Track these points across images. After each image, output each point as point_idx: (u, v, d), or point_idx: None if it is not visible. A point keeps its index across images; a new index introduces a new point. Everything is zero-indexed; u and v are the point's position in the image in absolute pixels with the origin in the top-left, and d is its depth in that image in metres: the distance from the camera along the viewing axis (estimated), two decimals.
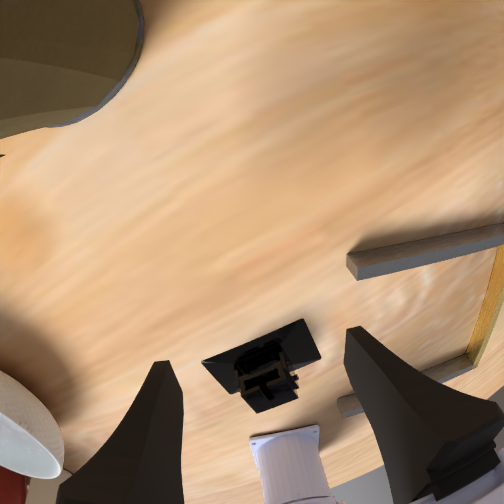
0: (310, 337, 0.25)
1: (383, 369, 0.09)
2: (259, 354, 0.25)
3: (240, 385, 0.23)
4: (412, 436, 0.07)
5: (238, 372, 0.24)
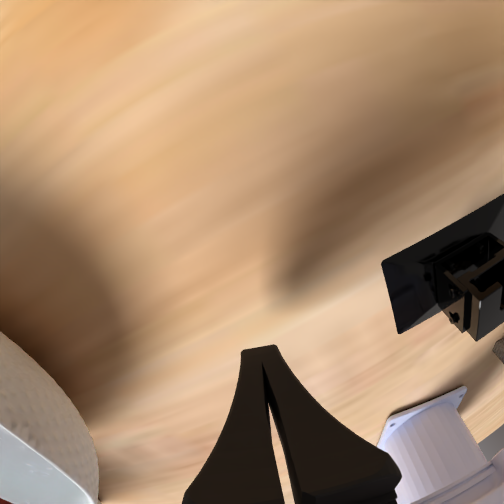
0: None
1: (277, 395, 0.09)
2: (467, 246, 0.14)
3: (468, 287, 0.12)
4: (293, 472, 0.07)
5: None
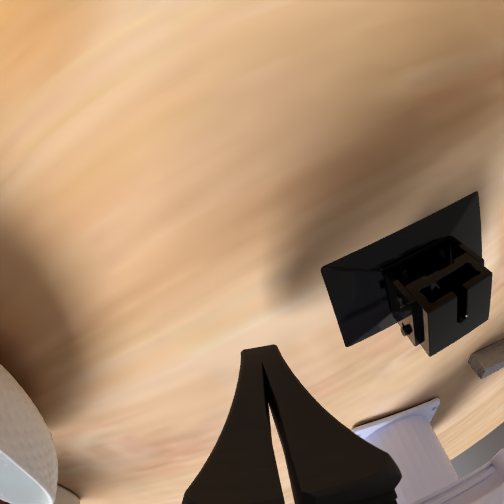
0: (478, 230, 0.14)
1: (277, 395, 0.09)
2: (423, 251, 0.14)
3: (416, 297, 0.12)
4: (292, 472, 0.07)
5: None
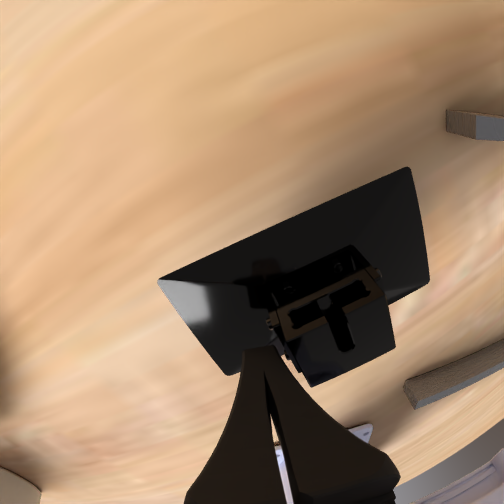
0: (399, 237, 0.14)
1: (275, 396, 0.09)
2: (313, 264, 0.13)
3: (281, 320, 0.11)
4: (291, 473, 0.07)
5: (272, 300, 0.12)
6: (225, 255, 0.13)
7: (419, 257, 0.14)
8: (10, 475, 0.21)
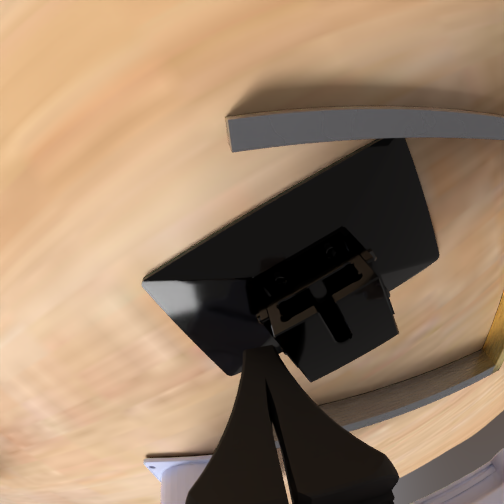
0: (395, 213, 0.13)
1: (274, 396, 0.09)
2: (303, 250, 0.12)
3: (270, 314, 0.10)
4: (289, 473, 0.07)
5: (263, 292, 0.12)
6: (210, 250, 0.12)
7: (420, 233, 0.13)
8: None
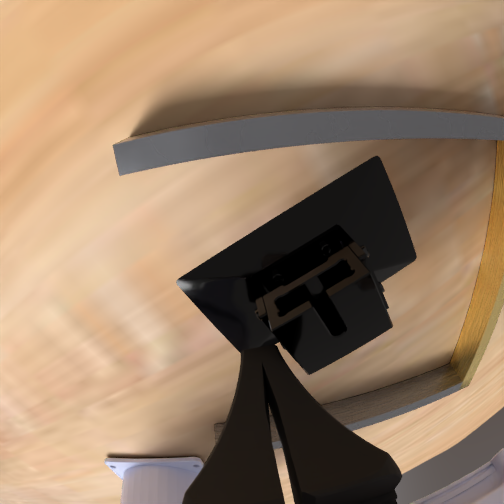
0: (389, 211, 0.13)
1: (277, 395, 0.09)
2: (300, 248, 0.13)
3: (267, 309, 0.11)
4: (292, 472, 0.07)
5: (261, 289, 0.12)
6: None
7: None
8: None
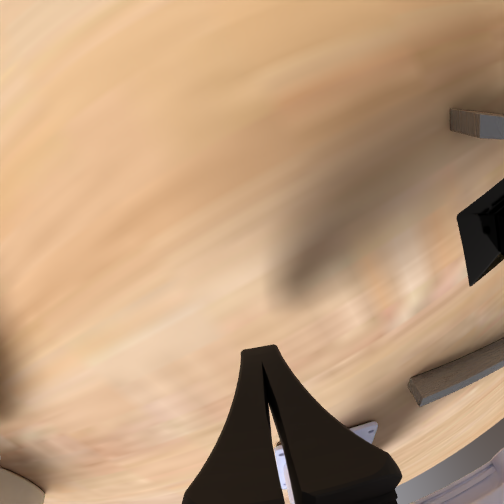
0: None
1: (277, 395, 0.09)
2: None
3: None
4: (293, 472, 0.07)
5: None
6: None
7: None
8: (13, 477, 0.22)
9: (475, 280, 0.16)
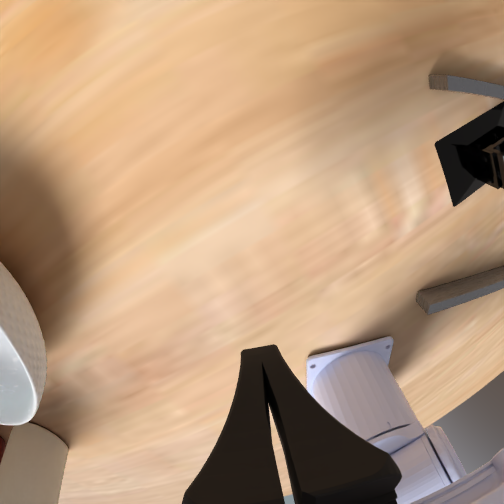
0: None
1: (277, 395, 0.09)
2: (486, 134, 0.18)
3: (493, 151, 0.16)
4: (293, 472, 0.07)
5: (478, 149, 0.18)
6: None
7: None
8: (39, 429, 0.27)
9: (458, 200, 0.21)
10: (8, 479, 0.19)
